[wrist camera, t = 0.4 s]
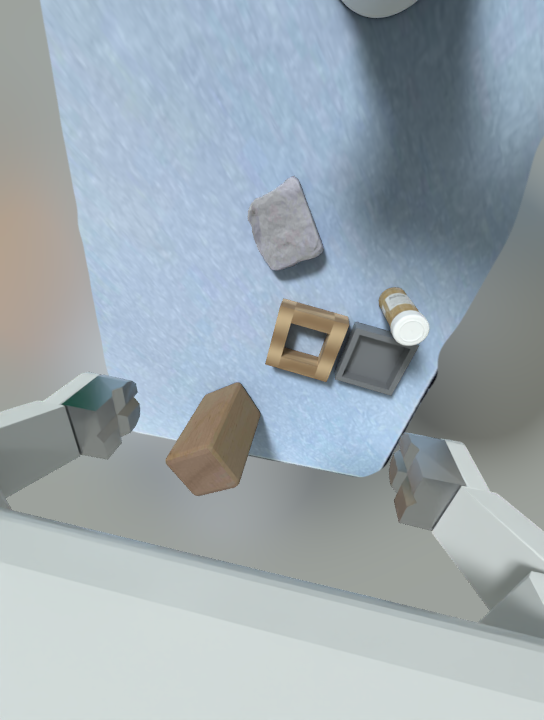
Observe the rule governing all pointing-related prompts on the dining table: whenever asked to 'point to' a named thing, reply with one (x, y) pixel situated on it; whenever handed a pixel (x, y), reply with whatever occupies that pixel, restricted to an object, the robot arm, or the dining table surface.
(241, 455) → the wooden block
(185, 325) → the dining table surface
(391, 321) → the sprinkles bottle
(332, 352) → the oak bore block
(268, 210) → the stone block
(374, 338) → the tray
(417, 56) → the dining table surface
